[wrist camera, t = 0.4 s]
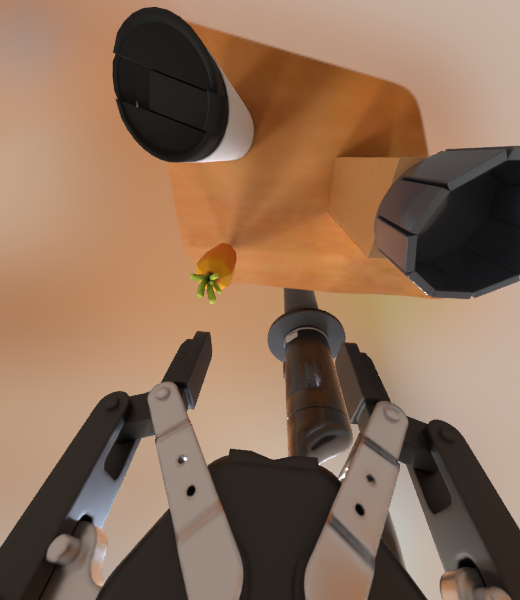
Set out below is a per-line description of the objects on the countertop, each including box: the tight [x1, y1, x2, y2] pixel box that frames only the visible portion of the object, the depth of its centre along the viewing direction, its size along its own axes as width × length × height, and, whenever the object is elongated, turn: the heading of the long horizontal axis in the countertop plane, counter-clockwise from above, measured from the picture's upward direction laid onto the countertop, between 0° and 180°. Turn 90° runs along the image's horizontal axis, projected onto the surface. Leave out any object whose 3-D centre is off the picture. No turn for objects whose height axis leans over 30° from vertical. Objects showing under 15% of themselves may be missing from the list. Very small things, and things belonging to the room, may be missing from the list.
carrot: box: [190, 243, 236, 303], centre depth 30 cm, size 5×5×15 cm
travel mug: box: [113, 7, 254, 163], centre depth 19 cm, size 6×7×20 cm
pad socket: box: [327, 146, 520, 299], centre depth 21 cm, size 8×8×23 cm
